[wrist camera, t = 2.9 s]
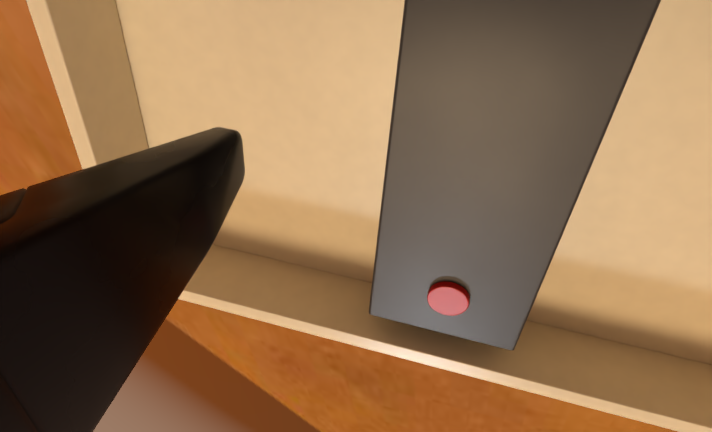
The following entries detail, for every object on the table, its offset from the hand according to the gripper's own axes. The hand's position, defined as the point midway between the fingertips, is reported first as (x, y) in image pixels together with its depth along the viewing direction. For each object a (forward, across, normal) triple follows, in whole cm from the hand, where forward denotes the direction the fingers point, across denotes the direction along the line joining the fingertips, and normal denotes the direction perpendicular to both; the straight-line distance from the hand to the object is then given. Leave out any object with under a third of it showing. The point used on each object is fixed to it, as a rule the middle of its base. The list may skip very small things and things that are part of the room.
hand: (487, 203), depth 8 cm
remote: (+6, 0, 0) cm, 6 cm away
